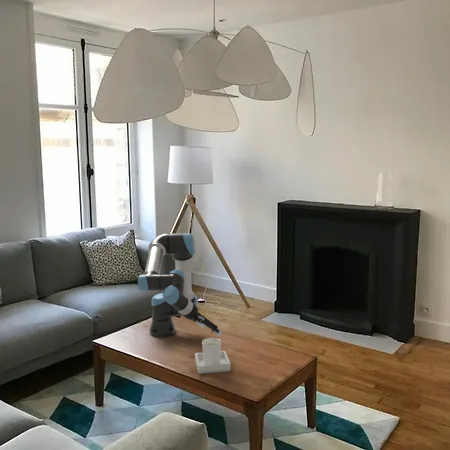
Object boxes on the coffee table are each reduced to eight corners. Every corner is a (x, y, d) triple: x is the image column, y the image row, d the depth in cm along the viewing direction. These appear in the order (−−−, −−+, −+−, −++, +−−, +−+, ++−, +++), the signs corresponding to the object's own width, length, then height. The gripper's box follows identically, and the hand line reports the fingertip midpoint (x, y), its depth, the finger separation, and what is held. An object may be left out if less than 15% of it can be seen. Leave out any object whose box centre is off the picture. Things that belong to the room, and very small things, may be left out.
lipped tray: (195, 360, 272) (194, 353, 271) (225, 357, 275) (225, 350, 274) (198, 374, 257) (198, 366, 256) (230, 371, 259) (230, 363, 258)
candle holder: (219, 368, 260) (218, 346, 258) (200, 367, 262) (199, 344, 260) (223, 360, 269) (223, 338, 267) (204, 358, 271) (204, 337, 269)
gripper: (168, 308, 259) (193, 329, 271) (198, 322, 240) (224, 344, 252) (177, 296, 261) (201, 317, 273) (207, 309, 242) (232, 331, 254)
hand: (212, 330), depth 263 cm, fingers open, 13 cm apart
